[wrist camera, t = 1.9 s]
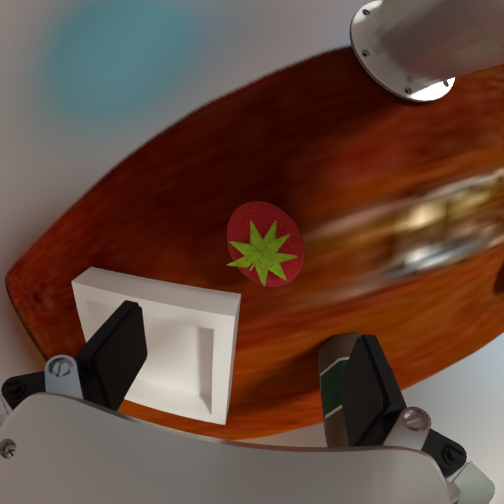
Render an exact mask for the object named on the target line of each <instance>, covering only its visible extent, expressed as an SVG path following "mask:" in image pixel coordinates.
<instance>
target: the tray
mask: <svg viewBox="0 0 504 504" xmlns="http://www.w3.org/2000/svg"><path fill="white" fill-rule="evenodd" d="M71 282H72V287H73V292H74V297H75V301H76V306H77V310H78V314H79V318H80V322H81V326H82V329H83V333H84V336H85V340H86V343H87V341H88V340H89V339H90V338H91V337H92V336H93V335H94V334H95V332H96V331H97V330H98V329H99V328H100V327H101V326H102V325H103V323H104V322H105V321H106V320H107V319H108V318H109V317H110V316H111V315H112V314H113V312H114V311H115V310H116V309H117V308H118V307H119V306H120V305H121V304H122V303H123V302H124V301H125V300H129V301H133V302H137V303H138V304H139V306H141V307H142V312H143V321H144V329H145V337H146V344H147V351H148V355H147V359H146V361H145V363H144V364H143V366H142V368H141V369H140V371H139V373H138V375H137V376H136V378H135V380H134V382H133V383H132V385H131V387H130V389H129V391H128V392H127V394H126V396H125V398H124V399H126V400H129V401H132V402H135V403H138V404H141V405H145V406H148V407H151V408H154V409H158V410H161V411H165V412H169V413H172V414H176V415H180V416H184V417H189V418H193V419H197V420H202V421H207V422H212V423H217V424H223V425H225V423H226V418H227V413H228V409H229V404H230V395H231V385H232V375H233V366H234V356H235V346H236V337H237V327H238V318H239V308H240V299H241V294H237V293H231V292H224V291H218V290H212V289H206V288H199V287H194V286H188V285H182V284H176V283H171V282H165V281H160V280H154V279H149V278H144V277H139V276H134V275H129V274H124V273H119V272H114V271H109V270H105V269H100V268H95V267H90V268H89V269H87V270H86V271H85V272H83V273H82V274H81V275H79V276H78V277H77V278H75V279H74V280H73V281H71Z"/></svg>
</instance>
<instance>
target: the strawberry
mask: <svg viewBox="0 0 504 504" xmlns="http://www.w3.org/2000/svg"><path fill="white" fill-rule="evenodd" d="M227 245H228V250H229V253H230V255H231V258H232V260H233V261H234V262H231V263H229V264H227V266H237V267H238V269H239V270H240V271H241V272H242V273H243V274H244V275H245V276H246V277H247V278H249V279H250V280H252V281H253V282H255V283H257V284H260V285H263V286H267V287H281V286H284V285H287V284H289V283H290V282H292V281H293V280H294V279H295V278H296V277H297V276H298V274H299V272H300V270H301V268H302V265H303V261H304V255H305V248H304V241H303V238H302V234H301V232H300V230H299V228H298V226H297V225H296V223H295V222H294V221H293V219H292V218H291V217H290V216H289V215H288V214H287V213H286V212H285V211H283V210H282V209H280V208H279V207H277V206H275V205H273V204H271V203H267V202H263V201H252V202H247V203H245V204H243V205H241V206H240V207H238V208H237V209H236V210H235V211H234V212H233V214H232V215H231V217H230V220H229V222H228V227H227Z"/></svg>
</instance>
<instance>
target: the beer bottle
mask: <svg viewBox="0 0 504 504" xmlns="http://www.w3.org/2000/svg"><path fill="white" fill-rule="evenodd" d="M358 337H361V335H359V334H358V333H356V332H354V333H347V334H341V335H334V336H333V337H332V338H331V339H330V340H329V341H327V342H326V343H325V344H324V345H323V346H322V347H321V348H320V349H319V350H318V371H319V383H320V391H321V400H322V409H323V419H324V429H325V436H326V442H327V446H328V447H350V446H349V442H348V436H347V430H346V424H345V419H344V413H343V408H342V403H341V397H340V392H339V387H338V386H339V380H340V378H341V375H342V373H343V371H344V369H345V366H346V364H347V362H348V359H349V357H350V354H351V352H352V350H353V347H354V345H355V342H356V340H357V338H358Z"/></svg>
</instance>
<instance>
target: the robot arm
mask: <svg viewBox="0 0 504 504" xmlns="http://www.w3.org/2000/svg"><path fill="white" fill-rule="evenodd" d="M350 40H351V45H352V48H353V50H354V53H355V55H356V57H357V59H358V60H359V62H360V64H361V65H362V67H363V68H364V69H365V70H366V72H367V73H368V74H369V75H370V76H371V77H372V78H373V79H374V80H375V81H376V82H377V83H378V84H379V85H381V86H382V87H383V88H385V89H386V90H387V91H389V92H391V93H393V94H394V95H396V96H398V97H401V98H403V99H406V100H410V101H414V102H428V101H433V100H436V99H439V98H441V97H443V96H444V95H445V94H447V93H448V91H449V90H450V89H451V87H452V85H453V82H454V79H455V78H456V77H459V76H462V75H465V74H469V73H472V72H475V71H479V70H482V69H486V68H490V67H494V66H498V65H502V64H504V0H376V1H372V2H369V3H367V4H365V5H364V6H362V7H360V9H359V10H358V11H357V12H356V13H355V15H354V17H353V18H352V21H351V25H350ZM362 54H364V55H365V56H363V55H362ZM405 91H406V92H407V94H406V92H405ZM147 355H148V351H147V344H146V337H145V329H144V321H143V312H142V307H141V306H139V304H138V303H137V302H133V301H129V300H125V301H124V302H123V303H122V304H121V305H120V306H119V307H118V308H117V309H116V310H115V311H114V312H113V314H112V315H111V316H110V317H109V318H108V319H107V320H106V321H105V322H104V323H103V325H102V326H101V327H100V328H99V329H98V330H97V331H96V332H95V334H94V335H93V336H92V337H91V338H90V339H89V340H88V341H87V343H86V344H85V345H84V346H83V347H82V348H81V350H80V351H79V352H78V353H77V355H76V356H75V357H74V358H72V357H70V356H67V355H58V356H54V357H53V358H51V359H50V360H49V361H48V362H47V363H46V365H45V371H42V372H36V373H31V374H26V375H21V376H15V377H11V378H9V379H7V380H6V382H4V384H3V386H2V390H1V391H0V504H489V502H490V501H491V499H492V498H493V495H494V493H495V487H494V484H493V482H492V481H491V480H490V479H489V478H488V477H487V476H486V475H485V474H483V473H482V472H481V471H480V470H479V469H478V468H477V467H476V466H475V465H474V464H473V463H472V462H471V461H470V462H468V463H467V462H466V457H467V456H466V452H465V450H464V448H463V447H462V446H461V445H460V444H458V443H456V442H454V441H452V440H450V439H449V438H447V437H445V436H443V435H441V434H439V433H438V432H436V431H434V430H432V429H431V428H430V426H431V419H430V417H429V415H428V414H427V413H426V412H425V411H424V410H422V409H420V408H417V407H408V408H407V406H406V404H405V401H404V399H403V396H402V394H401V391H400V389H399V386H398V384H397V381H396V379H395V377H394V374H393V372H392V369H391V367H390V366H389V364H388V362H387V360H386V357H385V355H384V353H383V351H382V348H381V346H380V344H379V342H378V340H377V337H376V336H375V335H365V334H363V335H362V336H361V337H358V338H357V340H356V342H355V345H354V347H353V350H352V352H351V354H350V357H349V359H348V362H347V364H346V366H345V369H344V371H343V373H342V375H341V378H340V380H339V386H338V387H339V392H340V397H341V403H342V408H343V413H344V419H345V424H346V430H347V436H348V442H349V446H350V447H324V448H323V447H322V448H321V447H316V448H315V447H286V446H272V445H261V444H252V443H244V442H237V441H230V440H224V439H218V438H213V437H207V436H202V435H198V434H193V433H188V432H184V431H180V430H176V429H172V428H168V427H164V426H161V425H157V424H154V423H150V422H147V421H144V420H141V419H137V418H134V417H131V416H128V415H125V414H122V413H119V412H117V410H118V408H119V407H120V405H121V403H122V401H123V399H124V398H125V396H126V394H127V392H128V391H129V389H130V387H131V385H132V383H133V382H134V380H135V378H136V376H137V375H138V373H139V371H140V369H141V368H142V366H143V364H144V363H145V361H146V359H147Z"/></svg>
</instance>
